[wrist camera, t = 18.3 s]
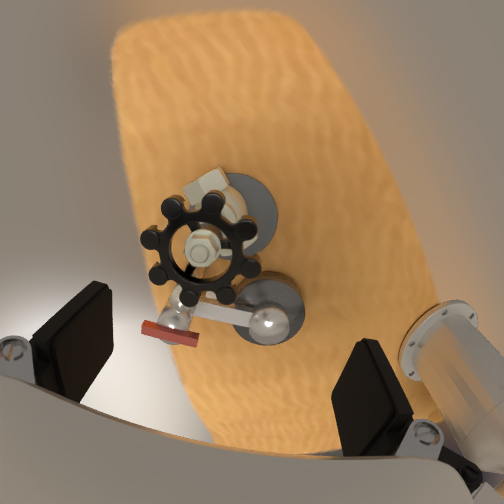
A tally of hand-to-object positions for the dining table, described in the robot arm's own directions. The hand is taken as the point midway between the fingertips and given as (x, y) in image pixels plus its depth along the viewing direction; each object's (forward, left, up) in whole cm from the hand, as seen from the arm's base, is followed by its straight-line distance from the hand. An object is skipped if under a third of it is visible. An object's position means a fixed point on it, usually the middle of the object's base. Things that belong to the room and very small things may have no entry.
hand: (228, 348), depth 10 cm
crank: (0, +8, -15) cm, 17 cm away
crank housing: (-2, +8, -18) cm, 20 cm away
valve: (+2, -1, -18) cm, 18 cm away
